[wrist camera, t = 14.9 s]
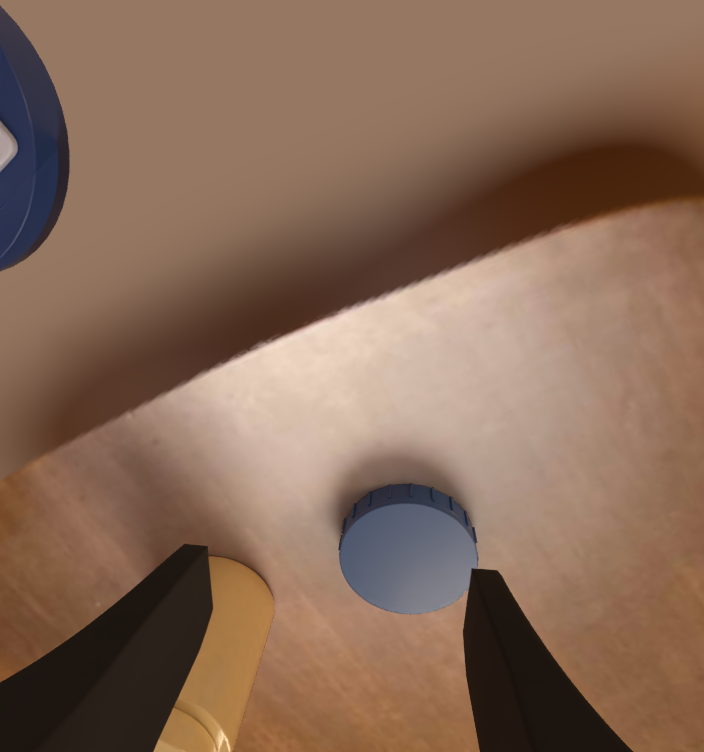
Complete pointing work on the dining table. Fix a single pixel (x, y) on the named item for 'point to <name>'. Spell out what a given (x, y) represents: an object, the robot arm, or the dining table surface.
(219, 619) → the jar
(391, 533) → the lid
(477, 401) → the dining table surface
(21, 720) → the robot arm
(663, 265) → the dining table surface
